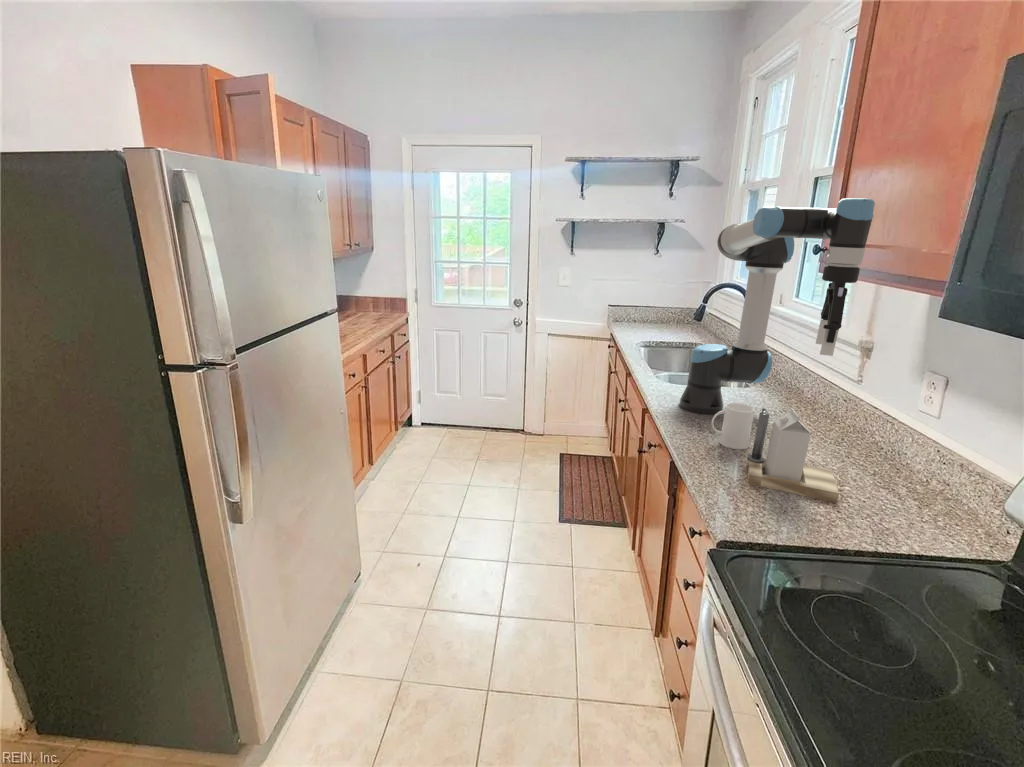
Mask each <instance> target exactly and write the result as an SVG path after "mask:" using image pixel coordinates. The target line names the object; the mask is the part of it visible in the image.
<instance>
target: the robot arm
mask: <svg viewBox="0 0 1024 767" xmlns="http://www.w3.org/2000/svg"><path fill="white" fill-rule="evenodd" d="M875 205H876V203H875V200H874V199H872V198H859V197H858V198H856V197H855V198H854V197H853V198H850V197H849V198H841V199H840V200H839V201H838V203H837V206H836V207H835V208H832V207H831V208H827V207H826V208H825V207H823V208H822V207H793V206H792V207H790V206H789V207H788V206H777V205H772V206H763V207H760V208H758V210H757V212H756V213H755V215H754V217H753V218H751V219H750V220H747V221H744V222H743V223H734V224H730V225H729V226H726V227H724V229H722V230H721V231H720V233H719V234H718V238H717V239H716V240H717V241H716V242H717V248H718V250H719V252H720V253H721V254H722V256H723V257H725V258H728V259H729V260H731V261H739V262H745V268H746V269H747V270H748V278H747V281H746V282H747V284H746V289H745V294H744V295H745V296H744V301H743V307H742V314H741V318H740V324H739V329H738V330H739V332H738V335H737V336H738V338H737V340H736V341H734V342H733V343H732V345H731V349H729V348H728V347H727V346H726V345H724V344H721V343H719V344H717V343H707V344H706V343H705V344H699V345H697V346H695V347H694V348H693V349H692V351H691V356H690V359H689V360H690V363H689V369H688V370H689V371H688V378H687V383H686V384H687V385H686V386H685V388H684V390H683V392H682V395H681V397H680V399H679V406H680V407H681V408H682V409H684V410H686V411H689V412H693V413H695V414H696V413H697V414H702V415H715V414H716V413H718V412H719V411H722V410H724V399H723V395H722V384H723V382H725V383H727V382H729V383H745V384H760V383H762V382H764V381H765V380H767V379H768V377H769V375H770V373H771V372H772V371H771V370H772V368H773V356H772V354H771V352H770V351H768V350H769V347H768V346H767V344H766V343H765V340H766V334H767V330H768V329H767V328H768V322H769V318H770V313H771V309H772V308H771V307H772V301H773V296H774V292H775V285H776V281H777V274H778V273H779V272H780V271H782V270H783V269H784V265H785V264H787V263H789V262H790V261H791V260H792V257H793V256H794V252H795V239H816V240H829V244H828V250H825V251H824V254H825V255H827V256H826V259H825V262H826V265H825V266H824V268H823V272H822V277H821V279H822V281H824V282H829V283H828V287H827V288H826V295H825V300H824V302H823V307H822V310H821V311H820V321H819V326H818V330H817V335H816V340H815V345H821V348H820V353H819V355H822V356H830V357H833V356H834V352H835V347H836V344H837V339H838V335H839V329H841V328H842V322H843V315H844V311H845V310H844V309H845V302H846V297H847V295H848V287H846V284H855V283H857V282H858V279H859V276H860V271H861V268H860V267H859V266H860V265H862V263H863V260H864V259H863V258H864V255H865V252H866V245H867V241H868V238H869V233H870V230H871V225H872V222H873V218H874V210H875Z"/></svg>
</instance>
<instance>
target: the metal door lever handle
mask: <svg viewBox="0 0 1024 767" xmlns="http://www.w3.org/2000/svg"><path fill="white" fill-rule="evenodd" d="M769 420H770V413H768V412H767V409H766V408H764V407H763V408H762V409H761V412H759V415H758V421H757V426H756V430H755V436H754V441H753V447H752V451H751V454H748V455H747V456H746V458H747V460H748V462H749V461H751V462H754V463H764V462H765V458H764V457H765V456H763V451H764V445H765V442H766V441H765V440H766V436H767V430H768V425H769Z"/></svg>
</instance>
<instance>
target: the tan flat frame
mask: <svg viewBox="0 0 1024 767" xmlns="http://www.w3.org/2000/svg"><path fill="white" fill-rule="evenodd" d="M763 457H764V458H765V462H766V457H767V456H766V457H765V456H763ZM765 462H764V463H754V462H751V461H749V460H748V470H747V484H748V485H753V486H757V487H761V488H767V489H773V490H776V491H780V492H781V491H782V492H785V493H790V494H794V495H800V496H805V497H808V498H809V497H810V498H814V499H818V500H822V501H823V500H824V501H828V502H833V503H838V498H839V495H840V492H839V489H838V485H837V483H836V479H835V477H834V473H833V470H832V469H828V468H822V467H817V466H813V465H812V466H811V465H807V464H804V467H803V471H802V476H801V480H800V482H797V481H792V480H787V479H782V478H777V477H773V476H768V475H765V474H764V473H763V469H764V467H765Z"/></svg>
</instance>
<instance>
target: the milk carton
mask: <svg viewBox="0 0 1024 767" xmlns="http://www.w3.org/2000/svg"><path fill="white" fill-rule="evenodd" d="M771 427H772V429H771V432H770V438H769V443H768V448H767V454H766V462H765V467H764V468H763V474H764V475H768V476H773V477H777V478H782V479H787V480H792V481H797V482H801V481H802V480H801V476H802V471H803V467H804V465H805V461H806V456H807V453H808V448H809V443H810V439H811V434H812V433H811V432H810V430H809V429H808V428H807V427H806V426H805V424H804V423H803V422H802V421H800V416H799V415H798V414H797V413H796V411H795V410H794V409H793V408H792V407H790V410H789V411H788V412H787V413H785V414H783V415H781V416H779V417H777V418H776V419H774V420H773V423H772V426H771Z"/></svg>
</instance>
